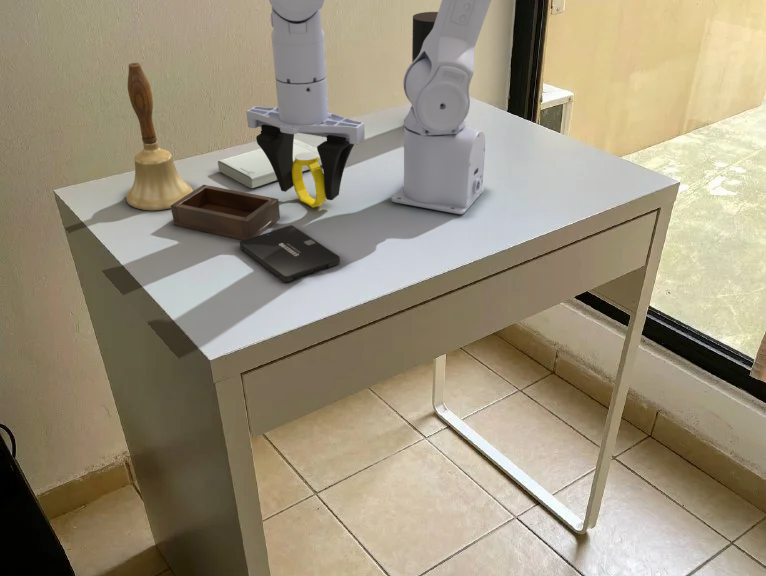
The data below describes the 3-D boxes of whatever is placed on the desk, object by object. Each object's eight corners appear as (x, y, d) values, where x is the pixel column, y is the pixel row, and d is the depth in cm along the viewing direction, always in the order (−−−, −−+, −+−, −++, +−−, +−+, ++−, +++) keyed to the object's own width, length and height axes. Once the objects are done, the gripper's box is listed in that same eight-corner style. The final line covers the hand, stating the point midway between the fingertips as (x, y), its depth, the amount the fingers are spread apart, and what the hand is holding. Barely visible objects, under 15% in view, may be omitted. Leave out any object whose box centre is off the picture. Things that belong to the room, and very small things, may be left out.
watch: (333, 208, 94) (330, 161, 90) (313, 214, 93) (310, 166, 89) (307, 192, 98) (304, 146, 94) (288, 198, 97) (284, 151, 93)
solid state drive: (292, 230, 89) (291, 224, 89) (341, 262, 83) (341, 257, 83) (239, 247, 86) (238, 241, 86) (285, 283, 80) (285, 277, 79)
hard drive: (251, 177, 98) (328, 152, 104) (216, 159, 103) (292, 136, 109) (253, 190, 99) (329, 164, 105) (218, 171, 104) (293, 148, 110)
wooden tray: (280, 218, 92) (278, 198, 91) (250, 241, 87) (247, 221, 86) (206, 203, 96) (203, 184, 94) (173, 225, 91) (170, 205, 89)
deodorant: (408, 130, 115) (409, 21, 106) (414, 117, 120) (415, 11, 110) (448, 132, 114) (453, 22, 105) (452, 119, 119) (457, 12, 110)
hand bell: (207, 195, 97) (185, 62, 88) (151, 217, 93) (121, 78, 83) (169, 178, 102) (144, 49, 92) (113, 197, 97) (81, 64, 87)
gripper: (226, 78, 86) (241, 195, 94) (342, 94, 81) (347, 215, 89) (260, 62, 91) (271, 174, 99) (371, 76, 86) (373, 192, 94)
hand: (309, 192), depth 94 cm, fingers closed on watch, 6 cm apart
